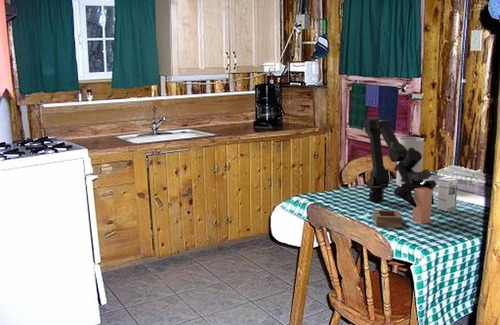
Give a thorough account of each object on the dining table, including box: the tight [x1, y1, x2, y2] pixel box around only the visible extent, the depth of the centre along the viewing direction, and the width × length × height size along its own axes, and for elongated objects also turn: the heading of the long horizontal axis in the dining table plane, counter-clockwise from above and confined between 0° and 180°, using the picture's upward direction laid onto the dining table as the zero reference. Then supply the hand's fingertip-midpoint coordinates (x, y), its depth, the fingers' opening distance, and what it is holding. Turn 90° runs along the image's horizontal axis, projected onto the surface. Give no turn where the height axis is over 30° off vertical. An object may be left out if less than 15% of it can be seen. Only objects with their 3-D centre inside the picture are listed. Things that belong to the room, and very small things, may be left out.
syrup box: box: [436, 176, 459, 212], centre depth 230 cm, size 6×6×14 cm
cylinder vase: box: [395, 136, 425, 187], centre depth 271 cm, size 12×12×25 cm
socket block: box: [372, 209, 403, 228], centre depth 214 cm, size 10×10×4 cm
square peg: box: [412, 187, 432, 225], centre depth 214 cm, size 5×5×14 cm
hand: (424, 205), depth 213 cm, fingers open, 9 cm apart
